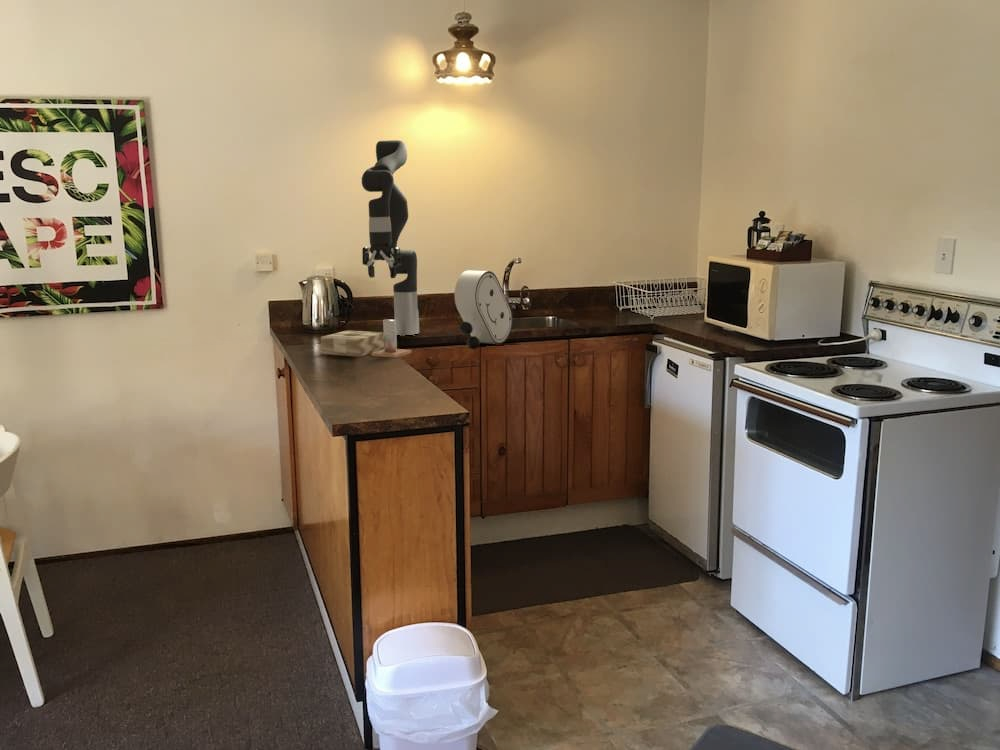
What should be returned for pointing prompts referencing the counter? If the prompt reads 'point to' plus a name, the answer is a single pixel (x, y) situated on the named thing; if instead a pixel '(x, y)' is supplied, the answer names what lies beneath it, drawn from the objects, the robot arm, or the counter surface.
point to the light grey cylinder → (390, 335)
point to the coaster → (393, 354)
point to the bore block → (352, 343)
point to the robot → (482, 308)
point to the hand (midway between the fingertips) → (382, 277)
